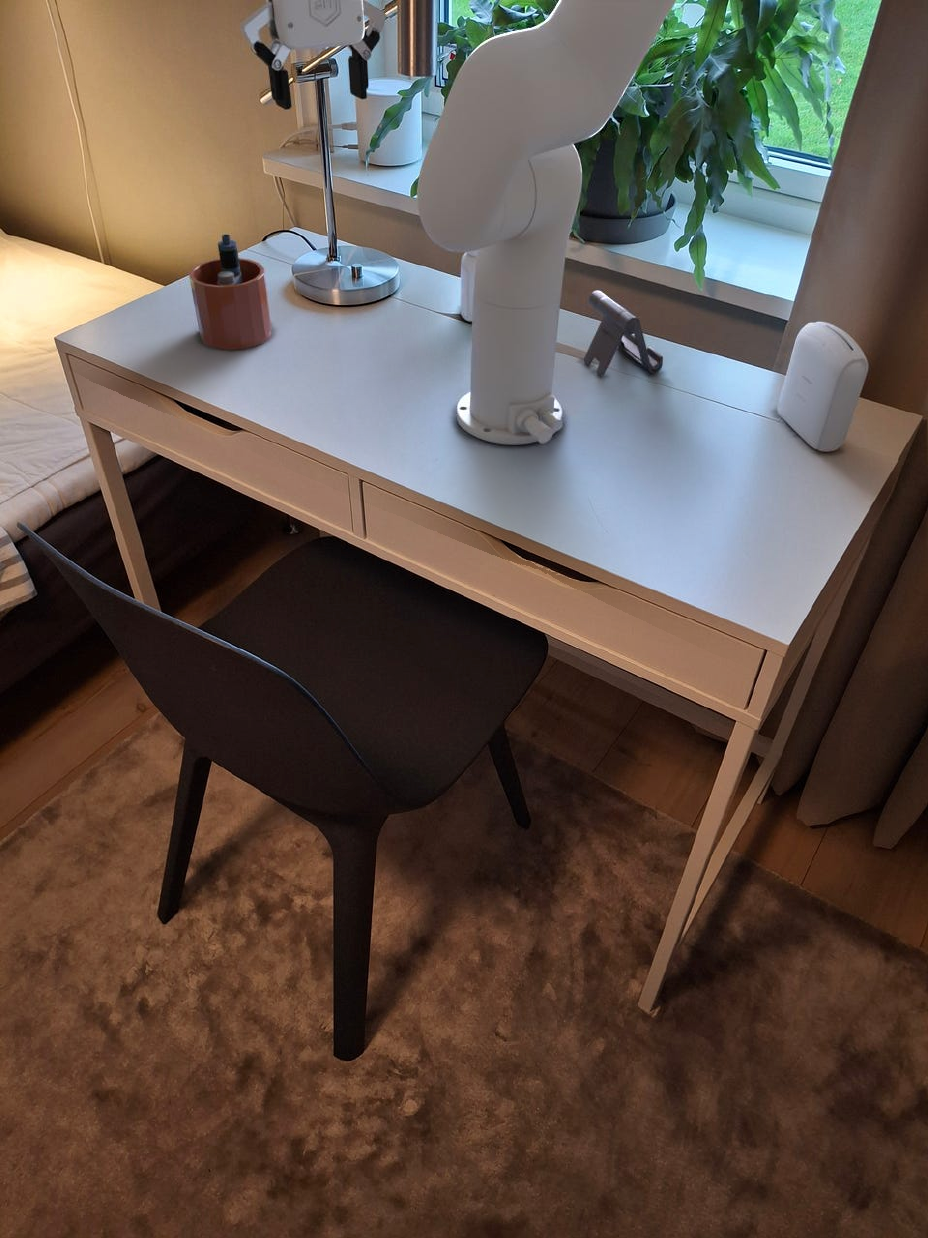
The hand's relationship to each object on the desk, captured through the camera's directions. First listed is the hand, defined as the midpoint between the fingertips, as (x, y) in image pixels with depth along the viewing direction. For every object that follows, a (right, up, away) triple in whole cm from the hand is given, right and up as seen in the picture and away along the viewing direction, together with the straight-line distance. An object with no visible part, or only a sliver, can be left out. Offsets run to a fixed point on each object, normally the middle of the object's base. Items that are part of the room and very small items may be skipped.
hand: (321, 101), depth 109 cm
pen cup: (-14, -22, +16) cm, 31 cm away
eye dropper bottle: (+19, -18, +22) cm, 34 cm away
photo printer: (+58, -39, +1) cm, 69 cm away
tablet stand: (+37, -28, +13) cm, 48 cm away
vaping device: (-14, -22, +16) cm, 31 cm away
